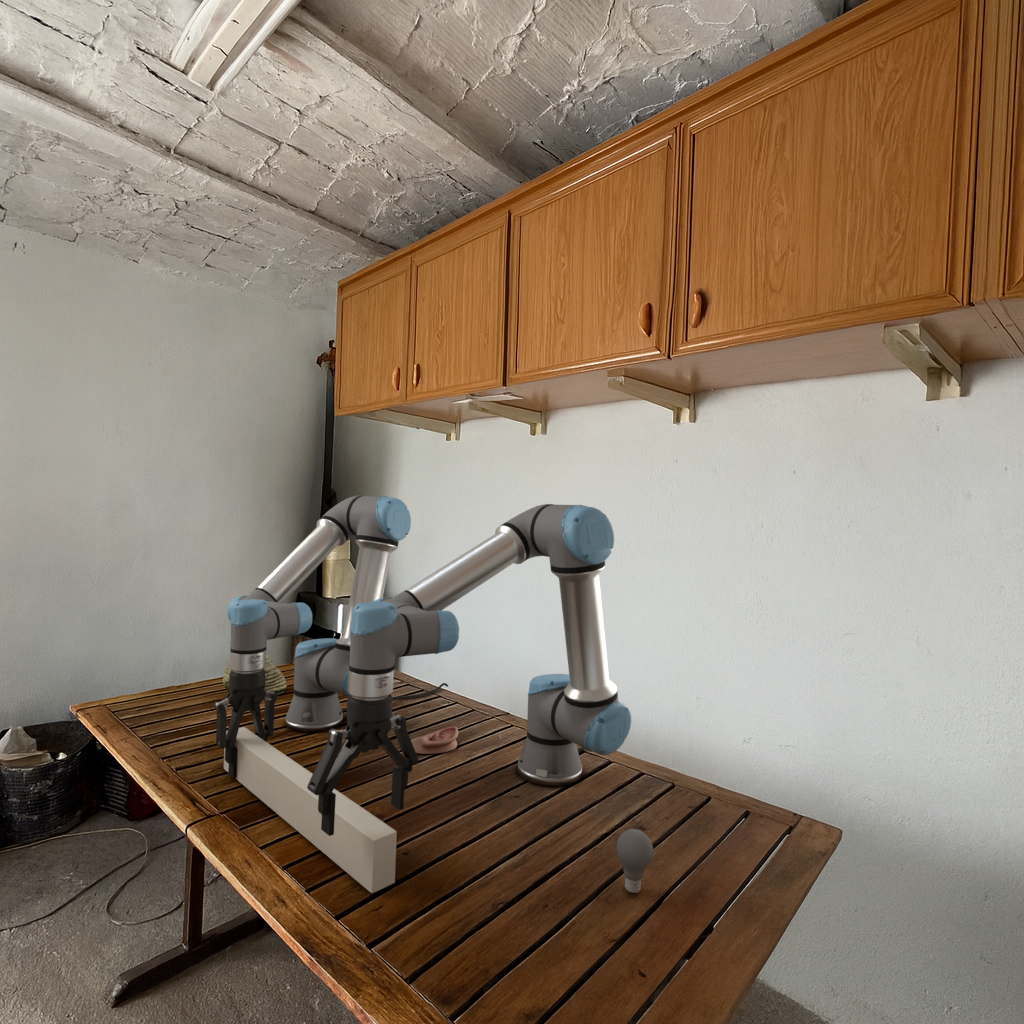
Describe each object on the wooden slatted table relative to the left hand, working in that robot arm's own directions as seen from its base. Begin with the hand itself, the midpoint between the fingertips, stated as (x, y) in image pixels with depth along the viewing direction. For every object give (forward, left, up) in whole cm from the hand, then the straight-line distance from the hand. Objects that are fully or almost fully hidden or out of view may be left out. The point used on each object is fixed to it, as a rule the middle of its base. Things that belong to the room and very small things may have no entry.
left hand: (244, 772), depth 142 cm
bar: (+3, +24, -1) cm, 25 cm away
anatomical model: (-41, +18, -1) cm, 45 cm away
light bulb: (-22, +86, -1) cm, 89 cm away
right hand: (+6, +49, +9) cm, 50 cm away
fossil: (-31, -51, -1) cm, 59 cm away
